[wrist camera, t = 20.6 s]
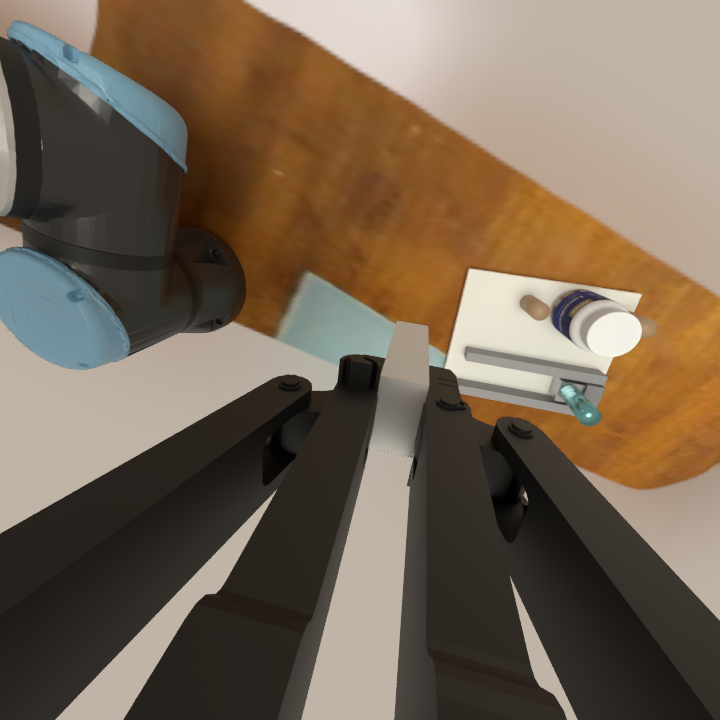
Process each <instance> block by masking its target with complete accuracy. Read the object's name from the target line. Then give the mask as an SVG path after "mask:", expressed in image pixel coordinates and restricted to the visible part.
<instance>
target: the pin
mask: <svg viewBox="0 0 720 720" xmlns="http://www.w3.org/2000/svg"><path fill="white" fill-rule="evenodd" d="M584 387H585V385H584V384H583V383H582V382H581V381H575V380H570V379H564V378H559V377H554V378H553V381H552V383H551V386H550V389H549V391H548V393H549V394H550V395H551V397H552V398H553V399H554V401H560V402H565V403H566V404H567V406H568V407H569V408H570V409H571V411H572V412H573V413H574V414H575V416H576V417H577V418H578V420H579V421H580V422H581V423H582V424H583V425H585V426H593V425H596V424H598V423H599V422H600V420H601V418H602V415H601V413H600V412H599V410H598V409H597V408H596V407H595V406H594V405H593V404H592V403H591V402H590V401H589V400H588V399H587V398H586V397H585V395H584V394H583V393H582V392H583V390H584Z"/></svg>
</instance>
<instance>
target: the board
mask: <svg viewBox="0 0 720 720" xmlns="http://www.w3.org/2000/svg"><path fill="white" fill-rule="evenodd" d="M574 289H586V290H590V291H593V292H595V293H597V294H599V295H602V296H604V297H607V298H609V299H611V300H614V301H616V302H618V303H620V304H622V305H623V306H624V307H626V309H627V310H628V311H629V313H630V314H632V315H634V316H635V317H636V318H637V319H638V320H639V322H640V324H641V327H642V334H641V337H642V338H647V337H650V336H652V335H653V334H655V332H656V331H657V328H658V326H657V323H656V322H655V321H653V320H650V319H648V318H645V317H643V316H641V315H638V314H636V313H634V311H635V309H636V306H637V304H638V302H639V300H640V298H641V295H642V294H639V293H636V292H629V291H622V290H616V289H609V288H602V287H595V286H589V285H582V284H575V283H568V282H562V281H555V280H548V279H541V278H535V277H528V276H521V275H514V274H508V273H501V272H494V271H487V270H480V269H474V268H468V271H467V275H466V279H465V283H464V287H463V291H462V296H461V300H460V304H459V308H458V312H457V316H456V320H455V324H454V328H453V333H452V337H451V341H450V345H449V349H448V353H447V357H446V361H445V365H444V368H445V369H450V370H451V371H452V372H453V373H454V374H455V375H456V377H457V381H458V382H457V383H458V386H459V387H458V388H459V391H460V394H465V395H470V396H476V397H481V398H486V399H491V400H496V401H501V402H507V403H512V404H517V405H522V406H527V407H533V408H538V409H543V410H548V411H553V412H559V413H564V414H569V415H574V416H575V414H574V413H573V412H572V411H571V409H570V408H569V407H568V406H567V404H566V403H565V402H560V401H554V399H553V398H552V397H551V395H550V394H549V393H548V391H549V389H550V386H551V383H552V381H553V378H554V377H559V378H564V379H570V380H575V381H581V382H582V383H583V384H584V385H585V387H584V390H583V392H582V393H583V394H584V395H585V397H586V398H587V399H588V400H589V401H590V402H591V403H592V404H593V405H594V406H595V407H596V408H597V405H598V403H599V401H600V399H601V397H602V395H603V392H604V390H605V388H604V387H603V386H604V385H605V383H606V381H607V379H608V377H607V376H606V373H607V370H608V368H609V366H610V364H611V362H612V359H613V357H602V356H599V355H597V354H595V353H593V352H587V351H584V350H582V349H580V348H579V347H577V346H576V345H575V344H573V343H572V342H571V341H570V340H569V339H567V338H566V337H565V336H564V335H563V334H561V333H560V332H559V331H558V330H557V329H556V328H555V327H554V326H553V324H552V323H551V320H550V311H551V308H552V305H553V303H554V302H555V301H556V300H557V298H559V297H560V296H561V295H562V294H564V293H566V292H568V291H571V290H574ZM602 385H603V386H602Z"/></svg>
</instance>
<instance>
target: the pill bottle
mask: <svg viewBox="0 0 720 720" xmlns="http://www.w3.org/2000/svg"><path fill="white" fill-rule="evenodd" d="M550 320H551V323H552V324H553V326H554V327H555V328H556V329H557V330H558V331H559V332H560V333H561V334H563V335H564V336H565V337H566V338H567V339H569V340H570V341H571V342H572V343H573V344H575V345H576V346H577V347H579V348H580V349H582V350H584V351H587V352H593V353H595V354H597V355H599V356H602V357H616V356H620V355H623V354H625V353H627V352H629V351H630V350H631V349H633V348H634V347H635V346H636V344H637V343H638V342H639V340H640V337H641V334H642V327H641V324H640V322H639V320H638V319H637V318H636V317H635V316H634V315H632V314H630V313H629V311H628V310H627V309H626V307H624V306H623V305H622V304H620V303H618V302H616V301H614V300H611V299H609V298H607V297H604V296H602V295H599V294H597V293H595V292H593V291H590V290H586V289H574V290H571V291H568V292H566V293H564V294H562V295H561V296H560V297H559V298H557V300H556V301H555V302H554V303H553V305H552V308H551V311H550Z"/></svg>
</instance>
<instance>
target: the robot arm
mask: <svg viewBox="0 0 720 720" xmlns="http://www.w3.org/2000/svg"><path fill="white" fill-rule="evenodd" d="M7 36H8V39H9V40H10V41H9V40H7V39H5V38H2V37H0V216H6V217H13V218H20V219H22V232H23V235H22V236H23V247H12V248H8V249H6V250H5V251H2V252H0V319H1V320H2V322H3V323H4V324H5V326H6V327H7V328H8V329H9V331H11V332H12V333H13V334H14V335H15V336H16V338H17V339H18V340H19V341H20V342H21V343H22V344H23V345H25V346H26V347H27V348H28V349H29V350H31V351H32V352H34V353H35V354H36V355H38V356H39V357H41V358H43V359H45V360H47V361H49V362H51V363H53V364H56V365H58V366H61V367H65V368H69V369H77V370H86V369H92V368H96V367H99V366H102V365H104V364H107V363H110V362H117V361H119V360H122V359H124V358H126V357H128V356H130V355H132V354H134V353H136V352H139V351H141V350H143V349H145V348H147V347H149V346H152V345H154V344H156V343H158V342H160V341H162V340H165V339H167V338H169V337H171V336H173V335H175V334H178V333H207V332H212V331H215V330H217V329H220V328H222V327H224V326H226V325H228V324H229V323H231V322H232V321H233V320H234V319H235V318H236V317H237V316H238V314H239V313H240V311H241V309H242V306H243V303H244V300H245V291H246V287H245V278H244V274H243V271H242V268H241V265H240V263H239V261H238V259H237V257H236V256H235V254H234V253H233V251H232V250H231V249H230V247H229V246H228V245H227V244H226V243H225V242H224V241H223V240H222V239H220V238H219V237H218V236H216V235H215V234H213V233H211V232H209V231H207V230H205V229H202V228H198V227H178V221H179V213H180V206H181V198H182V191H183V183H184V176H185V174H187V166H186V151H187V139H188V133H187V128H186V125H185V122H184V120H183V119H182V117H181V116H180V114H179V113H178V112H177V111H176V110H175V109H174V108H173V107H172V106H171V105H169V104H168V103H167V102H165V101H164V100H163V99H161V98H160V97H158V96H157V95H155V94H154V93H152V92H151V91H149V90H148V89H146V88H145V87H143V86H141V85H140V84H138V83H137V82H135V81H133V80H132V79H130V78H129V77H127V76H125V75H124V74H122V73H120V72H119V71H117V70H115V69H114V68H112V67H110V66H108V65H107V64H105V63H103V62H102V61H100V60H98V59H96V58H94V57H92V56H91V55H89V54H87V53H84V52H81V51H79V50H77V49H76V48H75V47H73V46H71V45H69V44H67V43H65V42H64V41H62V40H61V39H59V38H58V37H56V36H54V35H52V34H50V33H48V32H46V31H44V30H42V29H40V28H38V27H36V26H34V25H31V24H29V23H26V22H22V21H19V20H16V21H13V22H12V24H11V27H10V28H9V29H7ZM457 382H458V381H457V377H456V375H455V374H454V373H453V372H452V371H451V370H450V369H445V368H439V367H434V366H429V344H428V326H425V325H419V324H413V323H407V322H401V321H397V323H396V327H395V330H394V333H393V336H392V340H391V343H390V346H389V349H388V353H387V356H386V359H385V358H380V357H375V356H369V355H357V354H355V355H347V356H343V357H342V358H341V359H340V365H339V375H338V383H337V384H336V386H335V388H334V390H329V391H312V384H311V382H309V380H307V379H305V378H303V377H299V376H297V375H284V376H279V377H276V378H273V379H271V380H269V381H268V382H266V383H264V384H262V385H261V386H259V387H257V388H255V389H254V390H252V391H250V392H248V393H247V394H245V395H243V396H241V397H239V398H238V399H236V400H234V401H232V402H231V403H229V404H227V405H226V406H224V407H222V408H220V409H218V410H217V411H215V412H213V413H211V414H210V415H208V416H206V417H204V418H203V419H201V420H199V421H197V422H196V423H194V424H192V425H191V426H189V427H187V428H185V429H184V430H182V431H180V432H178V433H176V434H174V435H173V436H171V437H169V438H167V439H166V440H164V441H162V442H160V443H159V444H157V445H155V446H154V447H152V448H150V449H148V450H146V451H145V452H143V453H141V454H139V455H138V456H136V457H134V458H132V459H131V460H129V461H127V462H125V463H124V464H122V465H120V466H118V467H117V468H115V469H113V470H111V471H110V472H108V473H106V474H104V475H102V476H101V477H99V478H97V479H95V480H94V481H92V482H90V483H88V484H87V485H85V486H83V487H81V488H80V489H78V490H76V491H74V492H73V493H71V494H69V495H68V496H66V497H64V498H62V499H60V500H59V501H57V502H55V503H53V504H52V505H50V506H48V507H47V508H45V509H43V510H41V511H40V512H38V513H36V514H34V515H32V516H31V517H29V518H27V519H26V520H23V521H22V522H20V523H19V524H17V525H15V526H13V527H11V528H9V529H8V530H6V531H4V532H2V533H1V534H0V720H55V719H56V718H57V717H58V716H59V715H60V714H61V713H62V712H63V711H64V710H65V709H66V708H67V707H68V706H69V705H70V704H71V702H72V701H73V700H74V699H75V698H76V697H77V696H78V695H79V694H80V693H81V692H82V691H83V690H84V689H85V688H86V687H87V686H88V685H89V684H90V683H91V682H92V681H93V680H94V679H95V678H96V676H97V675H98V674H99V673H100V672H101V671H102V670H103V669H104V668H105V667H106V666H107V665H108V664H109V663H110V662H111V661H112V660H113V659H114V658H115V657H116V656H117V655H118V654H119V653H120V652H121V651H122V650H123V648H124V647H125V646H126V645H127V644H128V643H129V642H130V641H131V640H132V639H133V638H134V637H135V636H136V635H137V634H138V633H139V632H140V631H141V630H142V629H143V628H144V627H145V626H146V624H148V622H149V621H150V620H151V619H152V618H153V617H154V616H155V615H156V614H157V613H158V612H159V611H160V610H161V609H162V608H163V607H164V606H165V605H166V604H167V603H168V602H169V601H170V600H171V598H173V596H175V595H176V593H177V592H178V591H179V590H180V589H181V588H182V587H183V586H184V585H185V584H186V583H187V582H188V581H189V580H190V579H191V578H192V577H193V576H194V575H195V574H196V573H197V572H198V571H199V569H201V567H202V566H203V565H204V564H205V563H206V562H207V561H208V560H209V559H210V558H211V557H212V556H213V555H214V554H215V553H216V552H217V551H218V550H219V549H220V548H221V547H222V546H223V545H224V544H225V543H226V541H227V540H228V539H229V538H230V537H231V536H232V535H233V534H234V533H235V532H236V531H237V530H238V529H239V528H240V527H241V526H242V525H243V524H244V523H245V522H246V521H247V520H248V519H249V518H250V517H251V516H252V515H253V513H255V511H256V510H257V509H258V508H259V507H260V506H261V505H262V504H263V503H264V502H265V501H266V500H267V499H268V498H269V497H270V496H271V495H272V494H273V493H274V491H276V490H277V491H276V493H275V495H274V497H273V498H272V500H271V502H270V504H269V505H268V507H267V509H266V511H265V513H264V514H263V516H262V518H261V520H260V521H259V523H258V525H257V527H256V529H255V531H254V532H253V534H252V536H251V538H250V539H249V541H248V543H247V545H246V547H245V548H244V550H243V552H242V553H241V555H240V557H239V559H238V561H237V562H236V564H235V566H234V568H233V569H232V571H231V573H230V575H229V577H228V578H227V580H226V582H225V583H224V585H223V586H222V588H221V589H220V590H219V591H218V592H217V593H216V594H207V595H205V596H204V597H203V598H202V599H200V600H199V601H198V602H197V603H196V604H195V606H194V607H193V609H192V610H191V611H190V613H189V614H188V616H187V617H186V619H185V620H184V622H183V623H182V625H181V627H180V628H179V630H178V631H177V633H176V635H175V636H174V638H173V640H172V641H171V643H170V644H169V646H168V648H167V649H166V651H165V653H164V654H163V656H162V658H161V659H160V661H159V663H158V664H157V666H156V667H155V669H154V671H153V672H152V674H151V675H150V677H149V679H148V680H147V682H146V684H145V685H144V687H143V689H142V690H141V692H140V693H139V695H138V697H137V698H136V700H135V702H134V703H133V705H132V707H131V708H130V710H129V712H128V713H127V715H126V716H125V718H124V720H301V718H302V714H303V710H304V706H305V702H306V698H307V694H308V690H309V686H310V682H311V678H312V674H313V670H314V666H315V662H316V658H317V654H318V650H319V646H320V642H321V638H322V634H323V630H324V626H325V623H326V618H327V615H328V611H329V607H330V602H331V599H332V594H333V591H334V587H335V583H336V579H337V575H338V571H339V567H340V563H341V559H342V555H343V551H344V547H345V543H346V539H347V535H348V531H349V527H350V523H351V519H352V515H353V511H354V507H355V503H356V499H357V495H358V491H359V487H360V483H361V479H362V475H363V471H364V468H365V464H366V460H367V455H368V449H369V448H370V449H375V450H380V451H384V452H388V453H393V454H397V455H402V456H407V457H411V458H412V457H413V454H414V458H413V462H412V466H411V471H410V475H409V479H408V484H407V486H410V494H409V510H408V524H407V539H406V554H405V569H404V584H403V599H402V615H401V629H400V645H399V658H398V673H397V688H396V689H397V690H396V704H395V718H394V720H567V719H566V716H565V713H564V711H563V709H562V707H561V706H560V704H559V702H558V701H557V699H556V698H555V696H554V695H553V694H552V693H550V692H548V691H546V690H544V689H543V688H541V687H540V686H539V685H538V683H537V681H536V680H535V678H534V674H533V671H532V668H531V665H530V660H529V656H528V652H527V648H526V643H525V639H524V635H523V631H522V626H521V622H520V619H519V614H518V609H517V605H516V601H515V597H514V593H513V589H512V584H511V580H510V577H511V579H512V581H513V583H514V585H515V587H516V589H517V592H518V593H519V596H520V598H521V600H522V602H523V604H524V606H525V609H526V611H527V613H528V615H529V617H530V619H531V621H532V623H533V626H534V628H535V630H536V632H537V634H538V636H539V638H540V640H541V643H542V645H543V647H544V649H545V651H546V653H547V655H548V657H549V659H550V661H551V664H552V666H553V668H554V670H555V672H556V674H557V676H558V678H559V681H560V683H561V685H562V687H563V689H564V691H565V694H566V696H567V698H568V700H569V702H570V704H571V706H572V708H573V711H574V713H575V715H576V717H577V719H578V720H720V621H719V620H718V618H716V616H715V615H714V614H713V613H712V612H711V611H710V610H709V609H708V608H707V607H706V606H705V605H704V603H703V602H702V601H701V600H700V599H699V598H698V597H697V596H696V595H695V594H694V593H693V592H692V591H691V590H690V588H689V587H688V586H687V585H686V584H685V583H684V582H683V581H682V580H681V579H680V578H679V577H678V576H677V575H676V574H675V572H674V571H673V570H672V569H671V568H670V567H669V566H668V565H667V564H666V563H665V562H664V561H663V560H662V559H661V558H660V556H659V555H658V554H657V553H656V552H655V551H654V550H653V549H652V548H651V547H650V546H649V545H648V544H647V542H646V541H645V540H644V539H643V538H642V537H641V536H640V535H639V534H638V533H637V532H636V531H635V530H634V529H633V528H632V526H631V525H630V524H629V523H628V522H627V521H626V520H625V519H624V518H623V517H622V516H621V515H620V514H619V513H618V512H617V510H616V509H615V508H614V507H613V506H612V505H611V504H610V503H609V502H608V501H607V500H606V499H605V498H604V496H602V494H601V493H600V492H599V491H598V490H597V489H596V488H595V487H594V486H593V485H592V484H591V483H590V482H589V481H588V479H587V478H586V477H585V476H584V475H583V474H582V473H581V472H580V471H579V470H578V469H577V468H576V467H575V465H574V464H573V463H572V462H571V461H570V460H569V459H568V458H567V457H566V456H565V455H564V454H563V453H562V452H561V450H560V449H559V448H558V447H557V446H556V445H555V444H554V443H553V442H552V441H551V440H550V439H549V438H548V437H547V435H546V434H545V433H544V432H543V431H542V430H540V429H539V428H538V427H537V426H535V425H533V424H531V423H530V422H529V421H526V420H522V419H521V418H513V417H502V418H500V419H498V420H497V422H496V425H495V427H494V426H491V425H489V424H486V423H483V422H481V421H479V420H477V419H475V418H473V417H472V414H471V410H470V407H469V406H468V404H467V403H466V402H464V401H463V400H461V396H460V391H459V388H458V387H459V386H458V383H457ZM414 449H415V452H414ZM525 491H526V493H527V497H528V502H527V500H526V499H525V497H524V496H523V495H524V493H525Z"/></svg>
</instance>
